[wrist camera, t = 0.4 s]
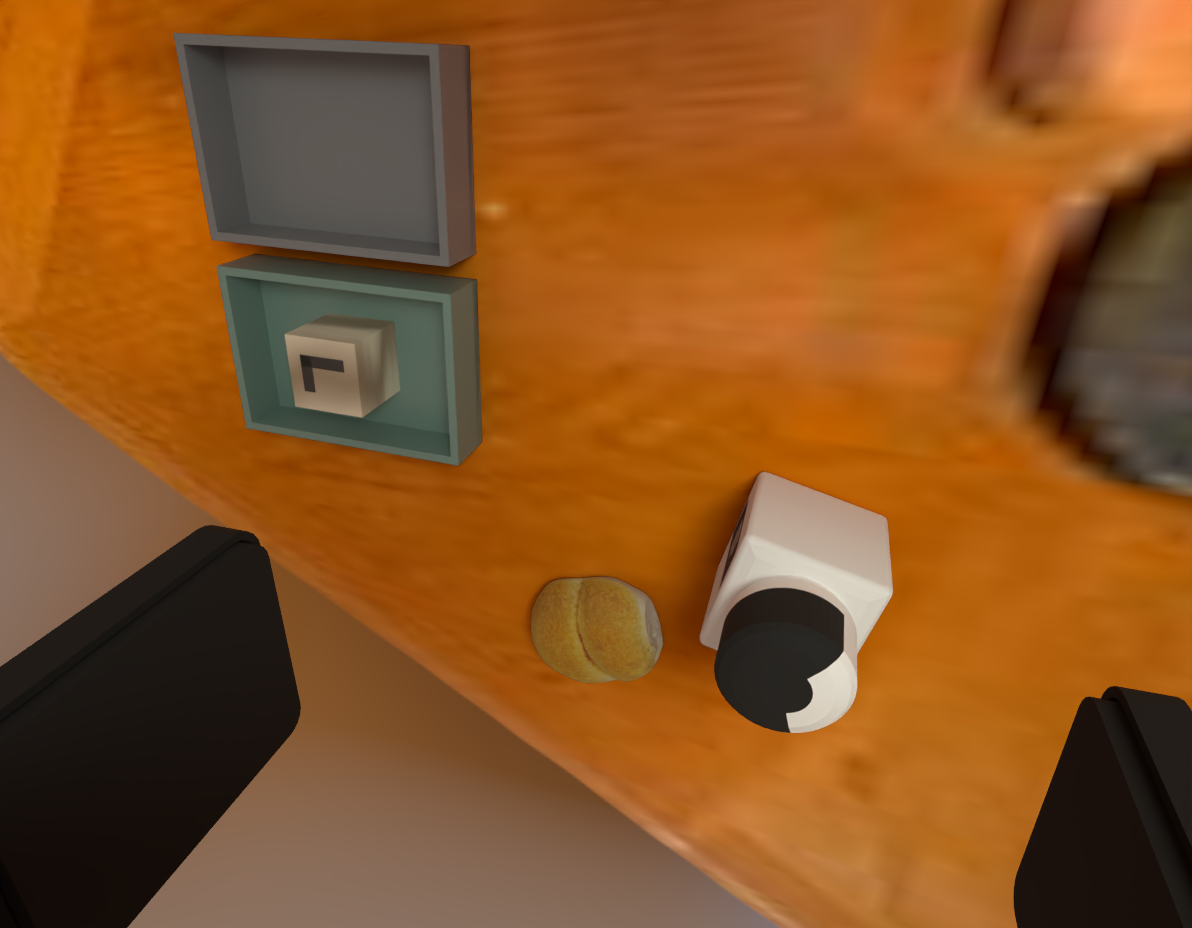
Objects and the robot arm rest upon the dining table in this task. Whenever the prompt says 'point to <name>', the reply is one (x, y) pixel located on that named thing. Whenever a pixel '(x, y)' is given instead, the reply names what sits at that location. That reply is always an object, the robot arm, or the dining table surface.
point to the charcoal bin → (334, 144)
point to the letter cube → (343, 364)
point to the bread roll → (596, 629)
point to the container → (796, 604)
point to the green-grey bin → (412, 300)
